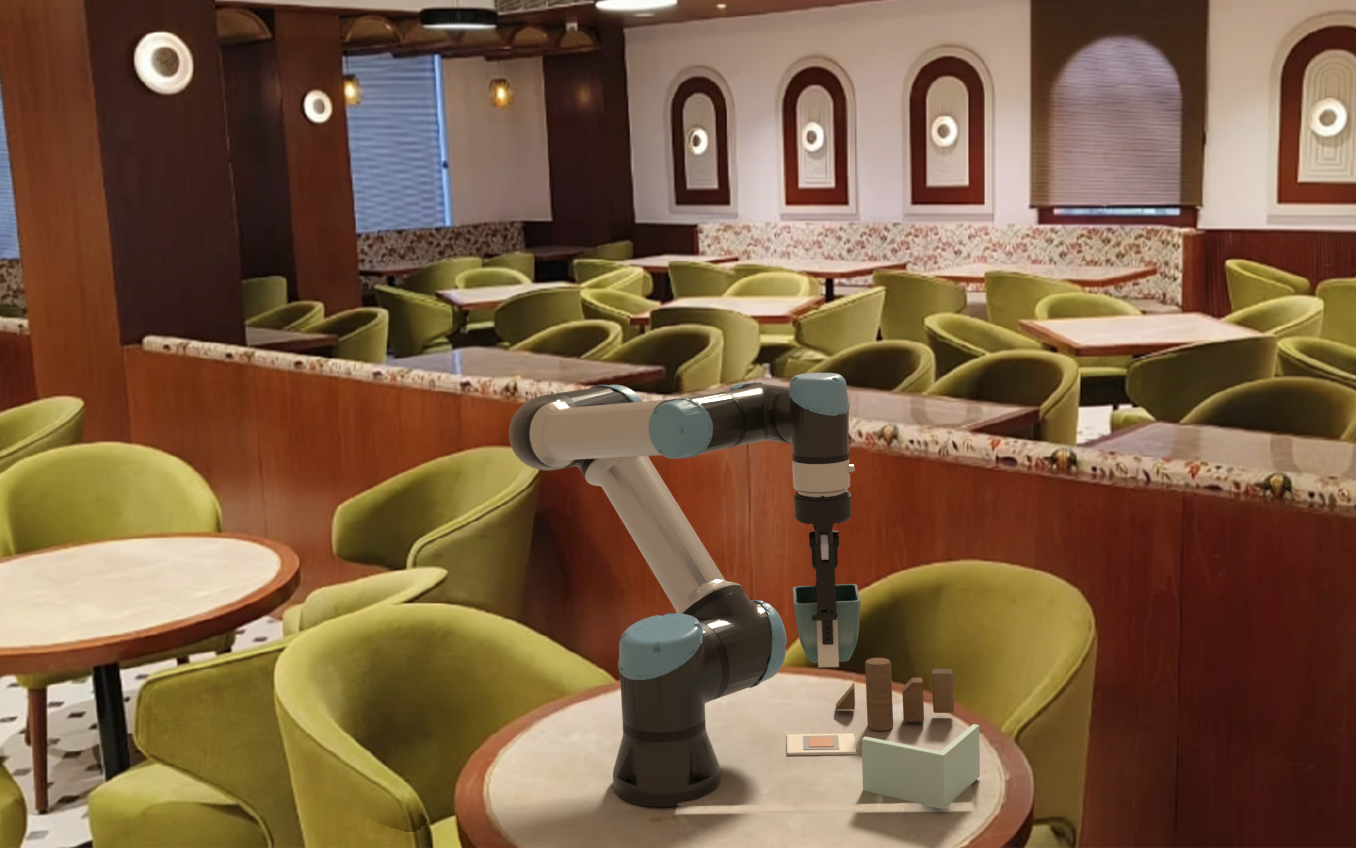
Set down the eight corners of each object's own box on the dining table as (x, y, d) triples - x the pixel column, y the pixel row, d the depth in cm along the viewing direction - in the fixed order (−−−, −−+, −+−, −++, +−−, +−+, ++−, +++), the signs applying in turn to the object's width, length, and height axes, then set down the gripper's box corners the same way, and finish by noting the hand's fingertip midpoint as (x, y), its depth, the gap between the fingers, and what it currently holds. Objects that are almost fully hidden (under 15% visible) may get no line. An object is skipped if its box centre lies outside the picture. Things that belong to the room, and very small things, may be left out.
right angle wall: (979, 776, 203) (979, 725, 201) (944, 809, 193) (943, 755, 192) (900, 760, 209) (899, 710, 208) (862, 791, 200) (861, 739, 198)
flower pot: (795, 648, 201) (792, 585, 200) (859, 646, 200) (856, 582, 199) (796, 669, 192) (793, 603, 191) (863, 667, 192) (861, 601, 190)
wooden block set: (953, 714, 226) (950, 649, 225) (955, 731, 217) (953, 663, 216) (836, 715, 228) (833, 650, 228) (834, 732, 220) (831, 665, 219)
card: (787, 755, 212) (787, 751, 212) (787, 737, 219) (786, 733, 219) (856, 754, 212) (856, 750, 212) (853, 735, 219) (853, 732, 219)
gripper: (853, 507, 182) (858, 681, 186) (848, 473, 203) (853, 630, 206) (793, 509, 183) (799, 682, 186) (794, 475, 204) (800, 631, 207)
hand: (828, 654), depth 196 cm, fingers closed on flower pot, 8 cm apart
